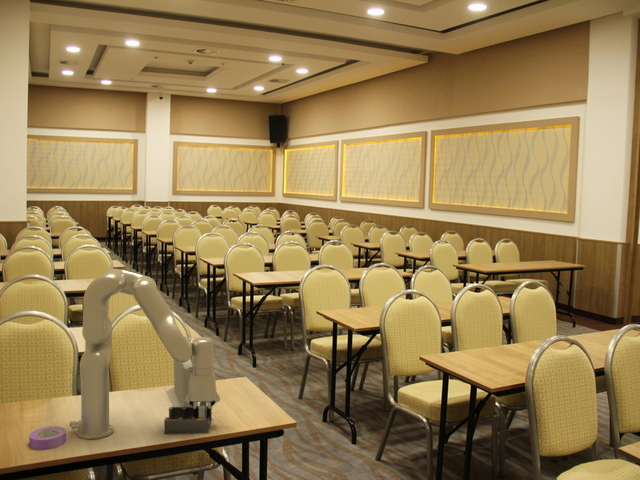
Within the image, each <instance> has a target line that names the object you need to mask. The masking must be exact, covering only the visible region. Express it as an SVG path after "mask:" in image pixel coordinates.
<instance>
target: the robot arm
mask: <svg viewBox="0 0 640 480" xmlns="http://www.w3.org/2000/svg"><path fill="white" fill-rule="evenodd" d="M119 293H121V294H122V293H123V294H126V295H130V296H133V298H134V301H136V303H137V304H138V306H139V308H141V310H142V312H143V314H144V315H145V316H146V318H147V319H148V321H149V322H150V324H151V326H152V327H153V329H154V332H155V333H156V334H157V336H158V337H159V339H160V341H161V343H162V345H163V346H164V348H165V349H166V351H167V352H168V353H169V355H170V357H171V358H172V359H173V361H174V360H175V361H177V362H180V363H184V362H186V361H188V360H189V359H190V360H191V358H192V367H191V368H189V371H192V373H191V375H190V379H189V392H188V394H187V396H186V398H185V400H184V401H185V402H187V403H189V404H190V405H191V406H192V407H193V408H194V416H196V419H198V405H199V404H198V405H197V403H198V402H199V403H200V402H207V411H206V417H209V416H211V407H212V408H213V406H215V404H217V403H219V402H220V401H221V397H220V395H219V393H218V392H217V382H216V380H217V379H216V375H215V373H214V371H213V370H214V369H213V366H214V364H213V363H214V359H213V358H214V341H213V339H212V338H211V337H208V336H201V337H190V336H184V335H183V333H182V332H181V330H180V328H179V327H178V325H177V322H176V319H175V316H174V313H173V311H172V309H171V308H170V306H169V305H168V304H167V302H166V300H165V299H164V297H163V296H162V294H161V292H160V291H159V289H158V288H157V283H156V281H155V280H154V279H153V278H152V277H150V276H148V275H144V274H140V273H136V272H131V271H128V270H124V269H120V268H110V269H108V270H107V271H105V272H104V273H103V274H102V275H100V276H98V277H96V278H95V279H94V280H93V281H91V282H90V283H89V284H88V286H87V288H86V290H85V292H84V296H83V297H84V298H83V313H82V315H83V316H82V332H81V333H82V337H83V340H84V342H85V343H84V344H85V346H84V347H85V349H84V350H85V351H84V352H83V353H82V355H81V357H80V362H79V374H80V393H81V394H80V396H81V397H80V398H81V399H80V401H81V403H80V404H81V405H80V406H81V408H80V409H81V410H80V413H81V418H80V419H81V420H79V421H75V420H73V421H71V420H70V421H69V427H70V428H71V430H72V429H77V431H76V435H77V437H78V438H80V439H84V440H96V439H103V438H105V437H108V436H110V435H112V434H113V432H114V426H113V425H112V424H110V380H109V379H110V378H109V373H110V372H109V365H110V364H109V363H110V360H111V358H112V354H113V353H112V351H113V324H112V320H111V318H110V317H109V310H110V309H109V305H110V303H109V302H110V301H109V300H110V299H111V297H113V296H114V295H117V294H119Z"/></svg>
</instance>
